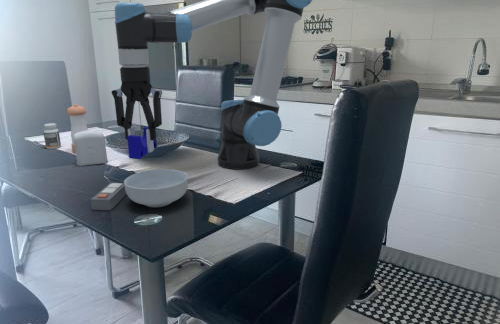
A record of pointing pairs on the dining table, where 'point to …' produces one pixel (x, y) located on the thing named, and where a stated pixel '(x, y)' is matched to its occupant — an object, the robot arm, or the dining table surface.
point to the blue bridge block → (138, 145)
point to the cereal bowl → (156, 187)
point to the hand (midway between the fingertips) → (142, 150)
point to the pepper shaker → (77, 121)
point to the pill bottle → (51, 136)
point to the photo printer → (90, 147)
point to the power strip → (108, 197)
